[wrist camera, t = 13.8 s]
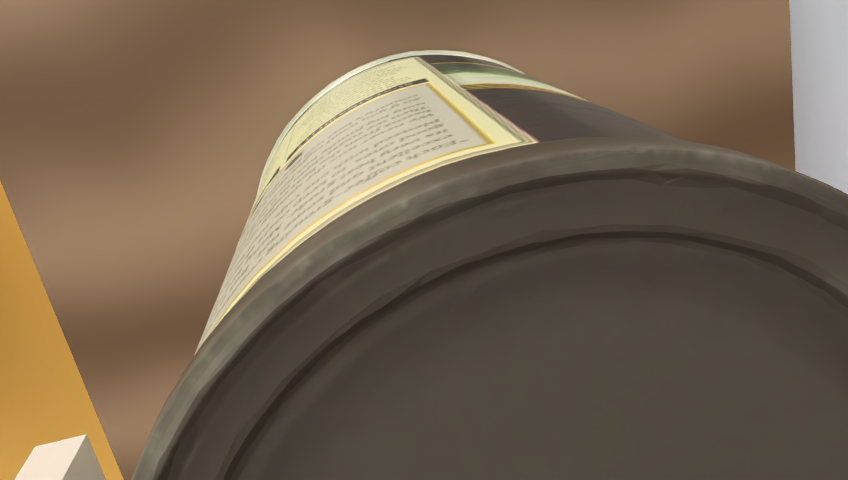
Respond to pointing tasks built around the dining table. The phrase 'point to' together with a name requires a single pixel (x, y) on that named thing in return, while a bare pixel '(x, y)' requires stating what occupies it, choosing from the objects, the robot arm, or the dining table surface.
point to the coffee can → (515, 298)
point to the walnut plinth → (265, 121)
